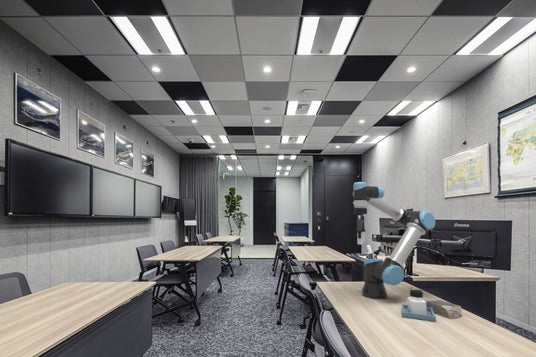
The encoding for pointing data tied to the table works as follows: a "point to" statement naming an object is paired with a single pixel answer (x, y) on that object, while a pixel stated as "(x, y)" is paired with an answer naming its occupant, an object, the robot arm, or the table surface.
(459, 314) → the geological specimen
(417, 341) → the table surface
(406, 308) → the tray
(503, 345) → the table surface
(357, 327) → the table surface
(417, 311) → the medicine bottle
